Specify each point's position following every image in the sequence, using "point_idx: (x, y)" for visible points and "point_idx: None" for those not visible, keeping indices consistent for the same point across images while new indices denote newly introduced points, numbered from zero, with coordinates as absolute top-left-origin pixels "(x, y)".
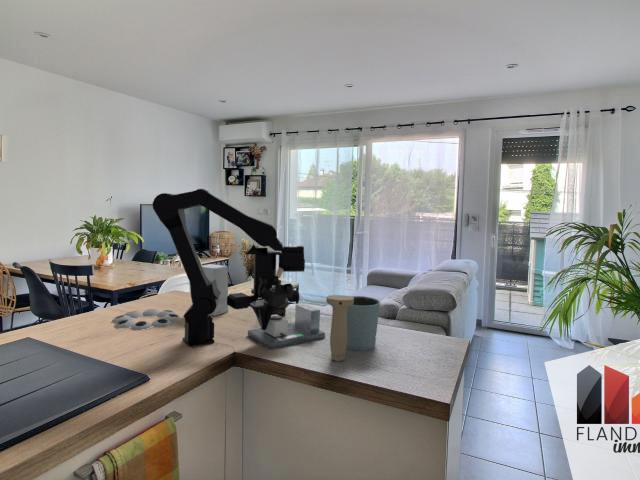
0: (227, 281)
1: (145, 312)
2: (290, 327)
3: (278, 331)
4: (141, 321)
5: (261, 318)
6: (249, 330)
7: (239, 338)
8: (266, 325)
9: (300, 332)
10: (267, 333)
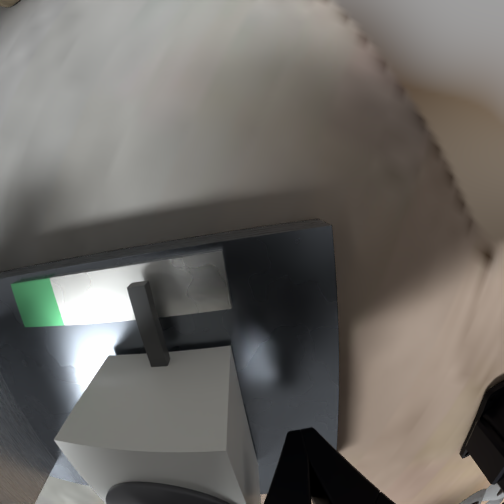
0: None
1: None
2: None
3: (183, 375)
4: (498, 494)
5: (387, 497)
6: None
7: (381, 435)
8: (291, 456)
9: (25, 358)
10: None
